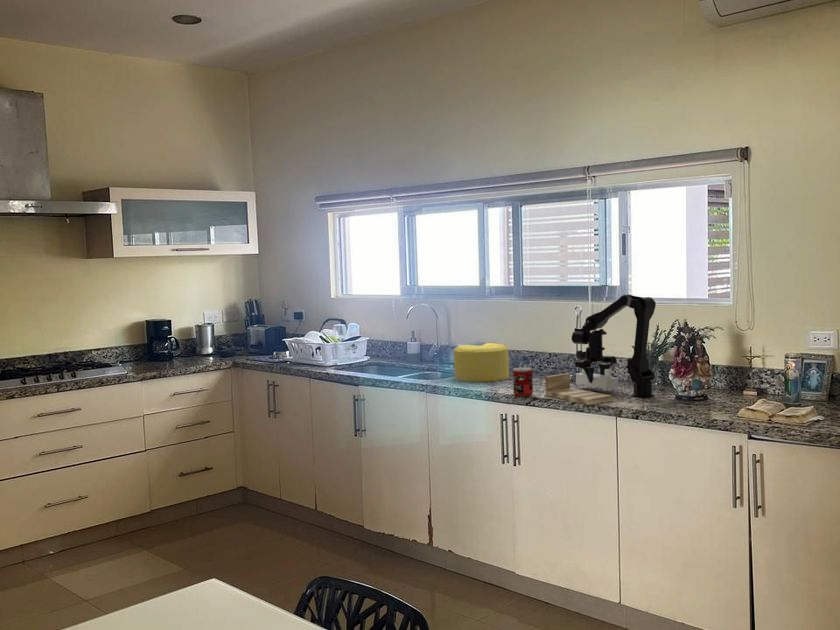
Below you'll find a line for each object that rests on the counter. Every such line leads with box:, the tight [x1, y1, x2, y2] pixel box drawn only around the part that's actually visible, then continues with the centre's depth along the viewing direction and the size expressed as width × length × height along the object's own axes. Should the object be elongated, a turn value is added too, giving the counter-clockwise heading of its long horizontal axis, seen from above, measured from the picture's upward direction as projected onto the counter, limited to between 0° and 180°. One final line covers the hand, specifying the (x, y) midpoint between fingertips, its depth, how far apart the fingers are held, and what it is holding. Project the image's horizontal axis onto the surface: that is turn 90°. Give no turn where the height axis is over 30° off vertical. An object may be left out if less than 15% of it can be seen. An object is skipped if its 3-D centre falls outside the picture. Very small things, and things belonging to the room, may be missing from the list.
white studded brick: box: [575, 368, 619, 390], centre depth 332 cm, size 20×6×8 cm, turn 26°
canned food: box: [512, 366, 534, 397], centre depth 329 cm, size 8×8×11 cm
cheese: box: [453, 342, 510, 383], centre depth 378 cm, size 26×26×15 cm
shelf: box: [545, 372, 613, 406], centre depth 317 cm, size 26×12×8 cm, turn 31°
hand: (596, 381), depth 332 cm, fingers closed on white studded brick, 6 cm apart
